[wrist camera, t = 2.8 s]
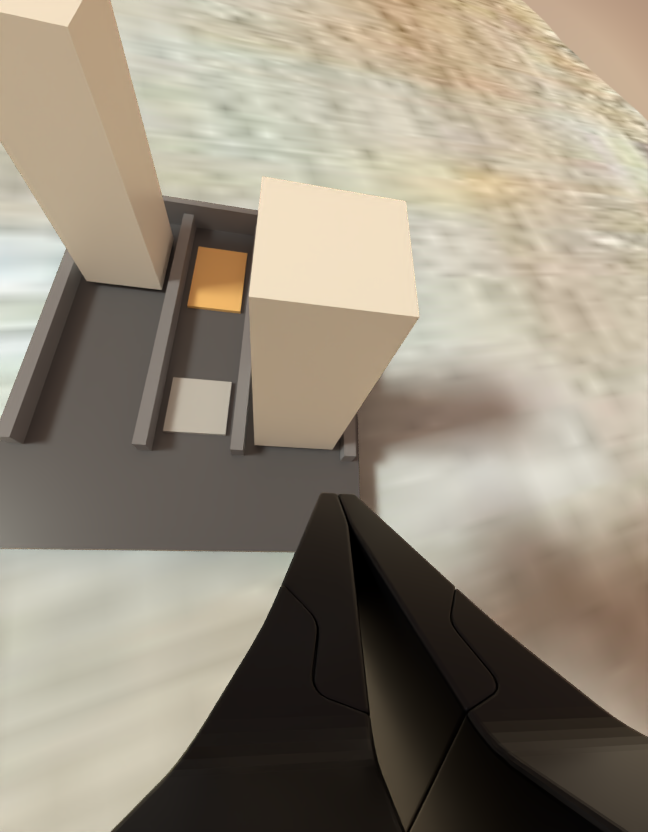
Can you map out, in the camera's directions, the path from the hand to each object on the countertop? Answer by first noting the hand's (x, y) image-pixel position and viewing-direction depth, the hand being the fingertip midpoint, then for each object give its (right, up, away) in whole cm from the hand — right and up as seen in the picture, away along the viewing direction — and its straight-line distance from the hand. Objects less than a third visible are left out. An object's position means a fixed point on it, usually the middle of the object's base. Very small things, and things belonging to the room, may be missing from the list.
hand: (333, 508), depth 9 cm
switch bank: (-7, +5, +12) cm, 15 cm away
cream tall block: (-2, +3, +10) cm, 11 cm away
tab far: (-12, +12, +12) cm, 20 cm away
